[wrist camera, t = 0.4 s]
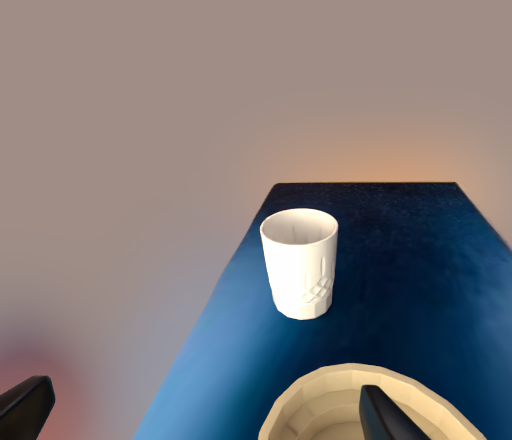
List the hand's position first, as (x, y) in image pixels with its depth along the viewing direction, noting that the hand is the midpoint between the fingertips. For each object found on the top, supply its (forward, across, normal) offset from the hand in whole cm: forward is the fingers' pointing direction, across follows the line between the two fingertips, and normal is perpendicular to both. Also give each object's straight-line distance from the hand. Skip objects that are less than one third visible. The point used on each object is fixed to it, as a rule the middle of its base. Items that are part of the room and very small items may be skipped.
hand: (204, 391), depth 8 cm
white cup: (+24, -6, +12) cm, 27 cm away
